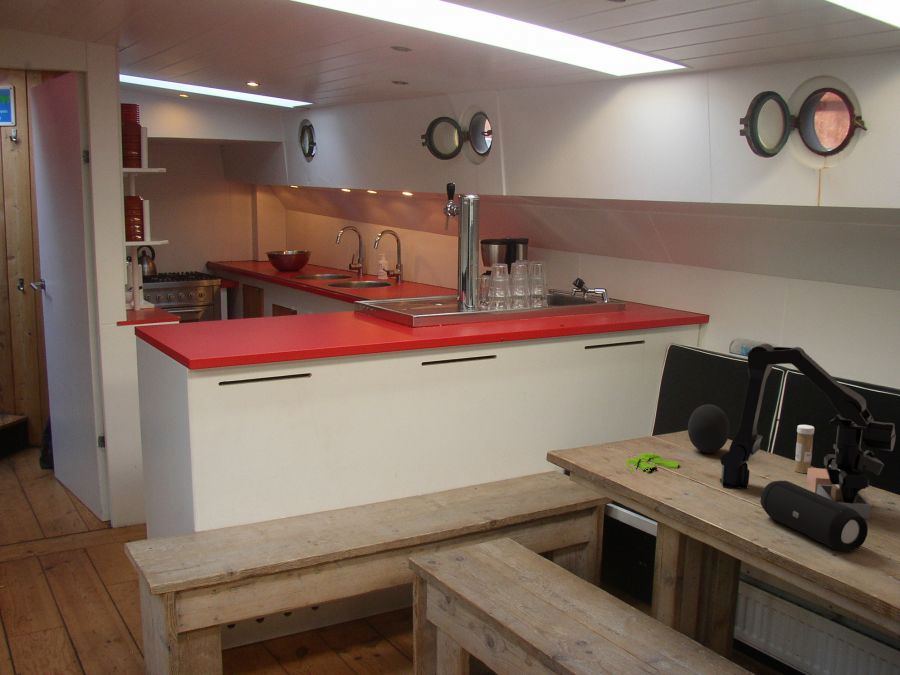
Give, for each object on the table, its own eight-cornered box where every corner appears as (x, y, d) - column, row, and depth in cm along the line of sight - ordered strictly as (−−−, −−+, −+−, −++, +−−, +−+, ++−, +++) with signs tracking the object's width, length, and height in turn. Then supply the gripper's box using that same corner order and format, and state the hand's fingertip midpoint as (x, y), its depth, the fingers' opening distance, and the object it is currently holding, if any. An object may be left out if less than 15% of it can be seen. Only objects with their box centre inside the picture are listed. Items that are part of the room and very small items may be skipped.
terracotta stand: (814, 494, 239) (816, 478, 239) (806, 483, 248) (807, 467, 247) (849, 496, 238) (851, 480, 237) (840, 485, 247) (841, 469, 246)
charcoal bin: (831, 516, 223) (832, 502, 223) (816, 497, 237) (817, 484, 236) (869, 518, 222) (871, 505, 221) (853, 499, 236) (854, 486, 235)
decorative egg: (697, 458, 269) (701, 410, 267) (679, 447, 281) (682, 400, 279) (735, 457, 272) (739, 409, 269) (715, 445, 284) (718, 399, 281)
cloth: (651, 453, 276) (651, 446, 275) (704, 473, 257) (705, 465, 257) (600, 462, 265) (600, 454, 265) (652, 484, 247) (652, 475, 247)
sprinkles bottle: (811, 474, 256) (815, 428, 254) (794, 472, 258) (798, 427, 255) (809, 469, 261) (813, 425, 258) (793, 468, 262) (797, 423, 260)
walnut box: (834, 509, 228) (836, 488, 227) (829, 504, 232) (832, 483, 231) (854, 511, 227) (856, 489, 226) (850, 505, 231) (852, 484, 230)
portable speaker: (756, 518, 221) (759, 479, 219) (787, 513, 225) (790, 475, 223) (835, 558, 198) (839, 515, 196) (868, 552, 201) (873, 509, 200)
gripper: (894, 456, 216) (887, 517, 219) (870, 435, 235) (864, 492, 237) (846, 453, 218) (840, 514, 221) (825, 433, 236) (820, 489, 239)
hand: (842, 502), depth 229 cm, fingers open, 9 cm apart
